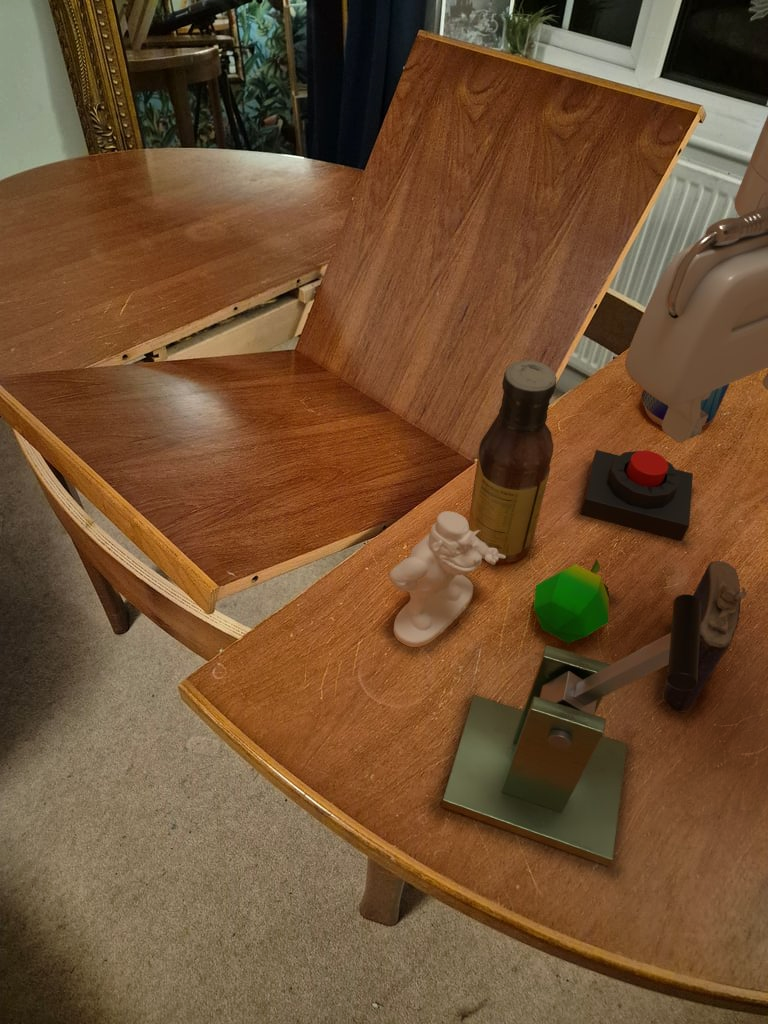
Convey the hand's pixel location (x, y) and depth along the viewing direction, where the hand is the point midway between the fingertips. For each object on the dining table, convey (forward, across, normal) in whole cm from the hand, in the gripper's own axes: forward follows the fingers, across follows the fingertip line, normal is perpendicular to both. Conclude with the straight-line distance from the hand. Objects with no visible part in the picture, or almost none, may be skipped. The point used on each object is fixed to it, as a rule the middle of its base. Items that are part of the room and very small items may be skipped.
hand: (730, 410), depth 47 cm
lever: (+10, -13, -8) cm, 18 cm away
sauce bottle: (+25, -3, +14) cm, 29 cm away
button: (+21, +13, +12) cm, 28 cm away
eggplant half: (+25, +2, -5) cm, 26 cm away
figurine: (+25, -12, +10) cm, 30 cm away
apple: (+25, -2, +4) cm, 25 cm away
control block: (+25, +13, +12) cm, 31 cm away
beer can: (+25, +28, +20) cm, 43 cm away
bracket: (+25, -15, -6) cm, 29 cm away
